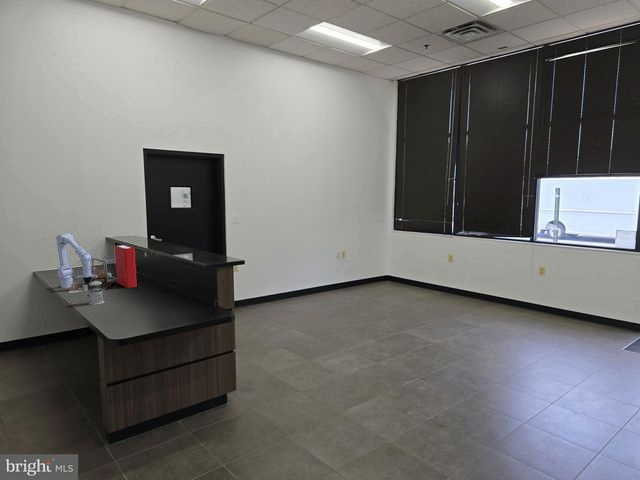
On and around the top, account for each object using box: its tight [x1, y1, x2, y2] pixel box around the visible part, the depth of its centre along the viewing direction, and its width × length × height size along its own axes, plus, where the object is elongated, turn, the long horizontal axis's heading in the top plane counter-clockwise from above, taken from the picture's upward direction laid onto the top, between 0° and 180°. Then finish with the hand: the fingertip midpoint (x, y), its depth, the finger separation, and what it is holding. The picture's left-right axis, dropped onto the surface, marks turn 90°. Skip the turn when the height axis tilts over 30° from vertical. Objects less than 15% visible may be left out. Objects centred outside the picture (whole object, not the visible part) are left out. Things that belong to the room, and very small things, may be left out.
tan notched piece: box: [69, 282, 86, 291], centre depth 329 cm, size 6×12×6 cm, turn 98°
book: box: [114, 243, 138, 289], centre depth 348 cm, size 27×8×32 cm, turn 41°
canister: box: [70, 282, 79, 291], centre depth 328 cm, size 4×4×4 cm
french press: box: [88, 267, 105, 306], centre depth 293 cm, size 10×12×25 cm
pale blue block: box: [67, 285, 89, 294], centre depth 321 cm, size 6×12×6 cm, turn 98°
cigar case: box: [91, 268, 108, 284], centre depth 353 cm, size 11×2×12 cm, turn 124°
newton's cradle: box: [91, 256, 117, 282], centre depth 372 cm, size 30×10×18 cm, turn 48°
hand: (88, 286), depth 330 cm, fingers closed
